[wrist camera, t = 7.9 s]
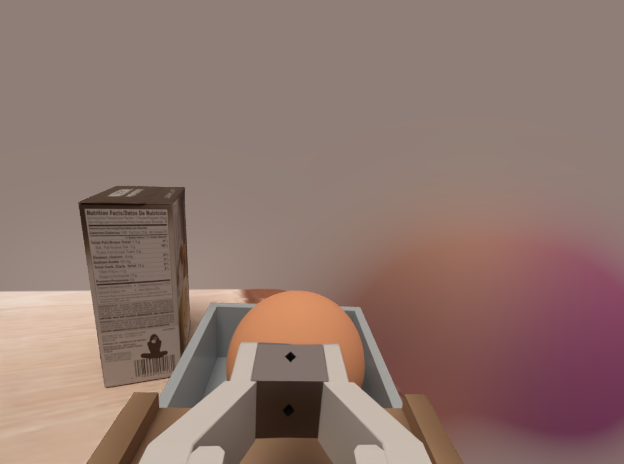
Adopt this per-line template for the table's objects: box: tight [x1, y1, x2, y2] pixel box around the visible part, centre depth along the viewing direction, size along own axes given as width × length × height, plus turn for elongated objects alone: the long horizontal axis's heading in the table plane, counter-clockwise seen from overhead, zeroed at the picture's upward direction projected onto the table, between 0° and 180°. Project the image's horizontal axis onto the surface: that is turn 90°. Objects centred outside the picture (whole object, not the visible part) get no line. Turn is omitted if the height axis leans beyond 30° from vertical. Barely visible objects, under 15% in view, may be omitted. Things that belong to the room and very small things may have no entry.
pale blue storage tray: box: [159, 303, 403, 408], centre depth 22 cm, size 14×14×6 cm
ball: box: [226, 291, 365, 388], centre depth 22 cm, size 10×10×10 cm
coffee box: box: [78, 186, 190, 387], centre depth 27 cm, size 9×6×16 cm
